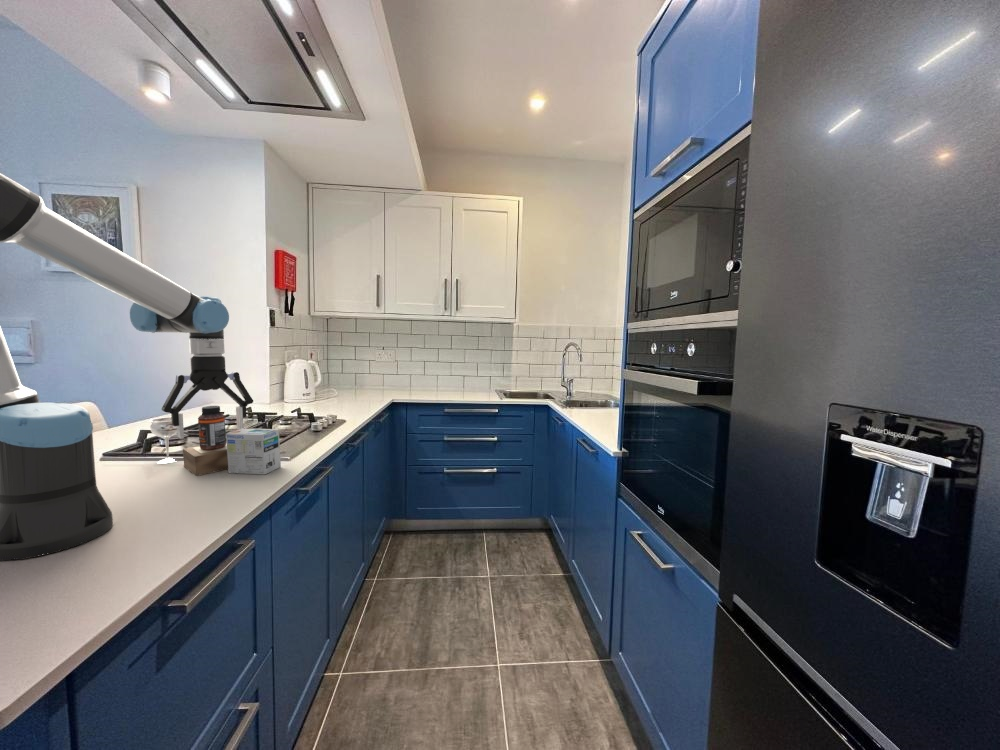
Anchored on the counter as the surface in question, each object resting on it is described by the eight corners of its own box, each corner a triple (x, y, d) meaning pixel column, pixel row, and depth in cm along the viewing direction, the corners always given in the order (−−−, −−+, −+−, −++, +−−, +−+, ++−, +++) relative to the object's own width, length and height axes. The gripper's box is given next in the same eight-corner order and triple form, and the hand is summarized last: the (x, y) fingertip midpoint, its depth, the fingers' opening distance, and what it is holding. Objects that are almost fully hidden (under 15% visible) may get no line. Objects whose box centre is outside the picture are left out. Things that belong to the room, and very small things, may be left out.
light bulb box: (281, 467, 111) (280, 428, 110) (265, 475, 105) (263, 434, 104) (245, 465, 112) (243, 427, 111) (226, 473, 106) (224, 432, 105)
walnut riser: (196, 475, 104) (194, 455, 103) (183, 466, 111) (182, 447, 110) (244, 465, 112) (243, 447, 112) (230, 457, 119) (229, 440, 119)
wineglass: (146, 463, 113) (143, 420, 112) (172, 456, 120) (169, 416, 119) (163, 465, 111) (160, 422, 110) (189, 458, 118) (186, 417, 117)
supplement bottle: (195, 448, 110) (192, 407, 108) (218, 443, 115) (216, 404, 114) (207, 451, 107) (204, 409, 106) (231, 446, 112) (228, 406, 111)
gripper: (150, 357, 97) (156, 444, 98) (264, 354, 116) (266, 428, 118) (143, 356, 101) (149, 439, 103) (253, 353, 120) (256, 424, 122)
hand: (211, 433), depth 110 cm, fingers open, 13 cm apart
